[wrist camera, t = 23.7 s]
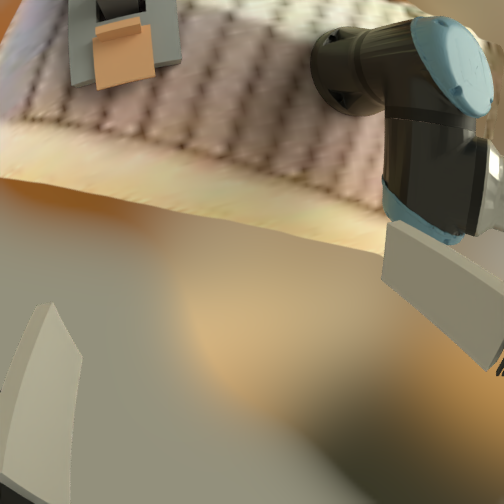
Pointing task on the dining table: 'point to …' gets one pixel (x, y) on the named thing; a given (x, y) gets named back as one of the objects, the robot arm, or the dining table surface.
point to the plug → (118, 8)
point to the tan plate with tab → (122, 53)
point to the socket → (88, 17)
